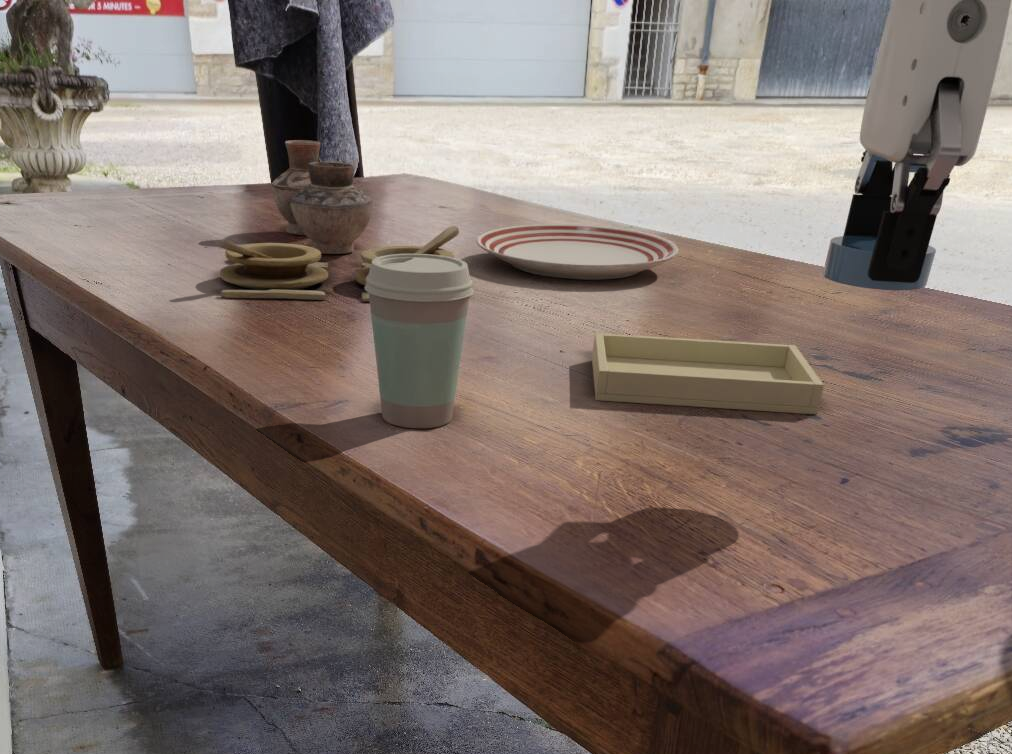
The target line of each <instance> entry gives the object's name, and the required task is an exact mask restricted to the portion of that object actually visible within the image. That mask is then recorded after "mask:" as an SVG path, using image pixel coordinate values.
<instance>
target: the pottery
mask: <svg viewBox="0 0 1012 754" xmlns="http://www.w3.org/2000/svg"><path fill="white" fill-rule="evenodd" d="M284 145H285V148H286V152H287V156H288V164H289V168H287V170H286V171H284V172H282V173H281V174H280V175H279V176H278V177H276V178H275V179H274V180H273V181H272V182H271V184H270V189H271V193H272V197H273V199H274V203H275V205H276V208H277V210H278V211H279V213H280V215H281V216H282V217H283V218H284V220H286V221H287V223H288V224H287V228H286V233H288V234H291V235H297V236H306V237H307V238H308V239H309V240H311V247H313V248H316V249H318V250H319V251H320V252H321V255H322V254H323V255H344V254H346V255H347V254H350V253H353V252H355V251H354V250H355V244H354V243H355V241H356V240H357V239H359V237H360V236H361V235H362V234H363V233H364V231H365V230H366V228H367V227H368V225H369V222H370V220H371V217H372V214H373V209H374V201H373V199H372V198H371V197H370V196H368V195H367V194H366V193H365V192H364V191H363V190H361V189H360V188H358V187H357V186H355V185H353V182H354V177H355V165H354V164H352V163H345V162H335V161H319V154H320V149H321V142H320V141H317V140H316V141H315V140H307V139H293V140H285V142H284Z"/></svg>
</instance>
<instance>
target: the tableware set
mask: <svg viewBox="0 0 1012 754" xmlns="http://www.w3.org/2000/svg"><path fill="white" fill-rule="evenodd" d="M459 234H460V229H459V227H458V226H456V225H453V226H449V227H447V228H445V229H444V230H443V231H442V232H440V233H439V234H438V235H437V236H435V237H433V239H431V240H430V241H428V242H427V243H425V245H424V246H421V245H392V246H381V247H373V248H369V249H365V250H363V251H362V252H361V253H360V258H361V260H362V261H363V262H361V264H360V268H359V269H357V270H356V271H355V272H354V279H355V281H356V282H357V283H358V284H360V285H362V286H365V285H366V277H367V276H368V275H369V270H370V266H371V262H372V260H373V259H375V258H377V257H381V256H386V255H393V254H431V255H440V256H447V257H452V258H455V254H454V253H453V252H452V251H450V250H447V249H444V248H442V246H444V245H445V244H447V243H448V242H450V241H452V240H454V239H455V237H457V236H458V235H459ZM219 248H220V249H224V250H225V251H224V254H225V255H224V256H225V258H226V259H227V260H228V261H230V262H233V264H228V265H227V266H224V267H222V268H221V269H220V270H219V276H220V278H221V280H223V281H224V282H227V283H229V284H232V285H236V286H238V287H240V288H241V287H242V288H245V289H222V290H221V291H220V295H221V298H224V299H280V300H281V299H283V300H285V299H286V300H306V301H307V300H308V301H310V300H311V301H325V300H326V292H325V291H322V290H307V289H306V288H310V287H313V286H314V285H317V284H320V283H323V282H325V281H327V279H328V278H329V271H328V268H329V262H321V261H320V260H321V259H322V253H321V252H320V251H319V250H318V249H316V248H313V247H312V246H308V245H303V244H297V243H296V244H295V243H284V242H283V243H281V242H256V243H245V244H240V245H237V244H235V243H232V242H228V241H222V240H221V241H219ZM301 289H302V290H301ZM305 289H306V290H305ZM361 302H364V303H365V302H366V303H367V302H369V303H370V299H369V292H367V291H366V292H361Z"/></svg>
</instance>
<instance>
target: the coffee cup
mask: <svg viewBox="0 0 1012 754" xmlns="http://www.w3.org/2000/svg"><path fill="white" fill-rule="evenodd" d="M473 284H474V283H473V280H472V279H471V276H470V270H469V265H468V263H467V262H466V261H464V260H462V259H459V258H456V257H454V258H452V257H447V256H440V255H431V254H393V255H386V256H381V257H377V258H375V259H373V260H372V262H371V266H370V270H369V275H368V276H367V277H366V285H364V291H366V292H369V299H370V302H369V305H370V306H369V307H370V309H369V310H370V317H371V326H372V335H373V345H374V353H375V361H376V362H375V363H376V370H377V372H376V373H377V380H378V389H379V399H380V408H381V415H382V418H383V420H384V421H385V422H386V423H388V424H390V425H393V426H396V427H400V428H406V429H418V430H419V429H421V430H422V429H433V428H439V427H442V426H445V425H447V424H448V423H450V422H451V420H452V418H453V411H454V405H455V398H456V391H457V384H458V379H459V371H460V364H461V358H462V351H463V344H464V338H465V331H466V324H467V317H468V310H469V303H470V298H471V297H470V296H472V295H473V294H474V291H475V290H474V289H473Z"/></svg>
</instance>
